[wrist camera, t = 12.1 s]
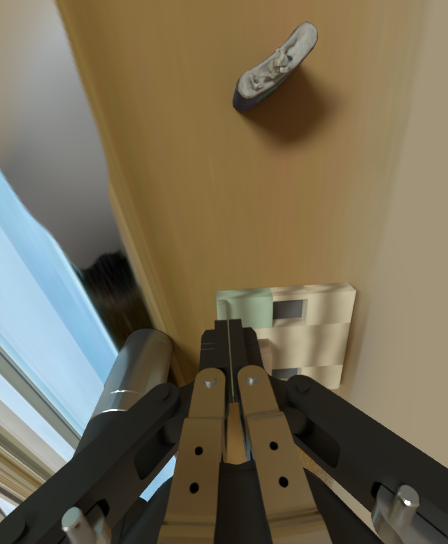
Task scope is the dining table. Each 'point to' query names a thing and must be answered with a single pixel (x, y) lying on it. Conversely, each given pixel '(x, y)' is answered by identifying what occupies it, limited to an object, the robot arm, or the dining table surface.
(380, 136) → the dining table surface
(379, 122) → the dining table surface
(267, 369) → the walnut block
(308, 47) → the flask
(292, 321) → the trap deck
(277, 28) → the dining table surface
